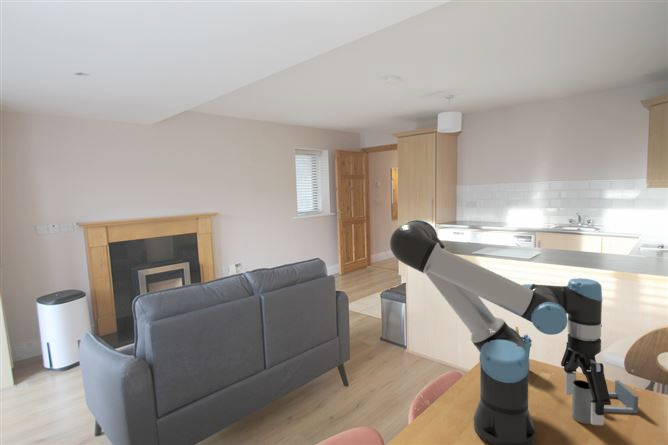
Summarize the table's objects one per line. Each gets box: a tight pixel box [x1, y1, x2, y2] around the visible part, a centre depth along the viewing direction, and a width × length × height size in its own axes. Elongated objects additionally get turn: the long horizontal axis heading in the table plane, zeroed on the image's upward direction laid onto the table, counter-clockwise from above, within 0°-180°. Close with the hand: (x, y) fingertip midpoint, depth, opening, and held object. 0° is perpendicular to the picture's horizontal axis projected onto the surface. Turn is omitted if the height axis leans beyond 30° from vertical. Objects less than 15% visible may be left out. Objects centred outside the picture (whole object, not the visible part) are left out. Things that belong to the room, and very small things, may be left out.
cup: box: [515, 326, 533, 360], centre depth 126 cm, size 14×8×15 cm, turn 176°
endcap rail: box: [604, 379, 639, 414], centre depth 106 cm, size 11×8×5 cm
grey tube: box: [571, 379, 593, 425], centre depth 99 cm, size 4×4×10 cm
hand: (582, 408), depth 99 cm, fingers open, 13 cm apart
